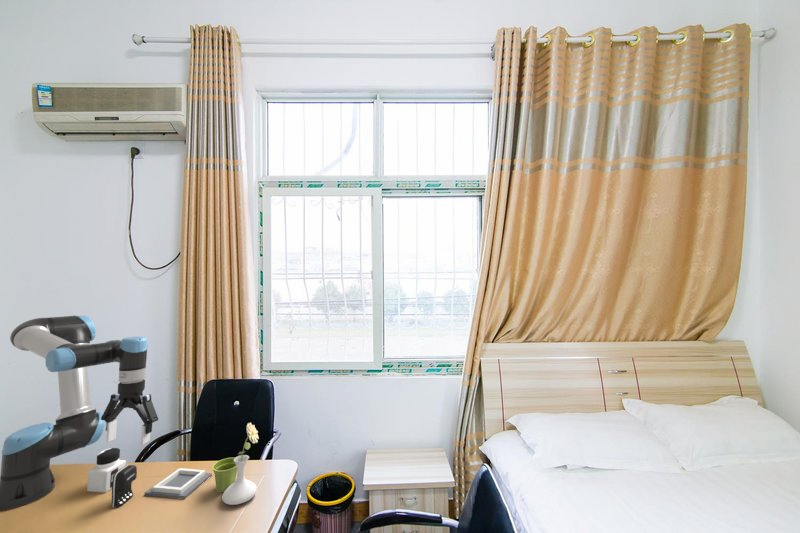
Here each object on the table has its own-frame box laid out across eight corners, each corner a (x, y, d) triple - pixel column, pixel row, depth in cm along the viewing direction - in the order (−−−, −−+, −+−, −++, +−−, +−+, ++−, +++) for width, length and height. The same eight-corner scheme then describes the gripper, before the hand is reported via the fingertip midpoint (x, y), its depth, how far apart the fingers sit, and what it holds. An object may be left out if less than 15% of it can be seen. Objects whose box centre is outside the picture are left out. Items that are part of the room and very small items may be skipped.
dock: (144, 495, 116) (144, 488, 116) (175, 472, 130) (175, 466, 130) (184, 499, 114) (185, 491, 114) (211, 476, 128) (212, 469, 128)
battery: (121, 508, 109) (123, 473, 110) (109, 508, 109) (112, 474, 109) (137, 495, 116) (139, 462, 117) (126, 495, 116) (128, 462, 116)
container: (125, 480, 124) (127, 446, 125) (105, 493, 117) (107, 456, 118) (107, 479, 125) (109, 445, 126) (86, 491, 117) (88, 455, 118)
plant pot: (205, 492, 118) (206, 468, 118) (225, 478, 127) (226, 455, 127) (224, 497, 115) (226, 473, 116) (244, 482, 124) (245, 459, 125)
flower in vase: (242, 511, 109) (246, 435, 110) (214, 506, 111) (217, 432, 112) (266, 487, 121) (268, 420, 123) (239, 483, 124) (242, 417, 125)
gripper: (90, 382, 113) (85, 444, 111) (154, 385, 110) (150, 448, 109) (111, 376, 120) (107, 434, 119) (172, 379, 117) (168, 438, 116)
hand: (128, 441), depth 114 cm, fingers open, 13 cm apart
